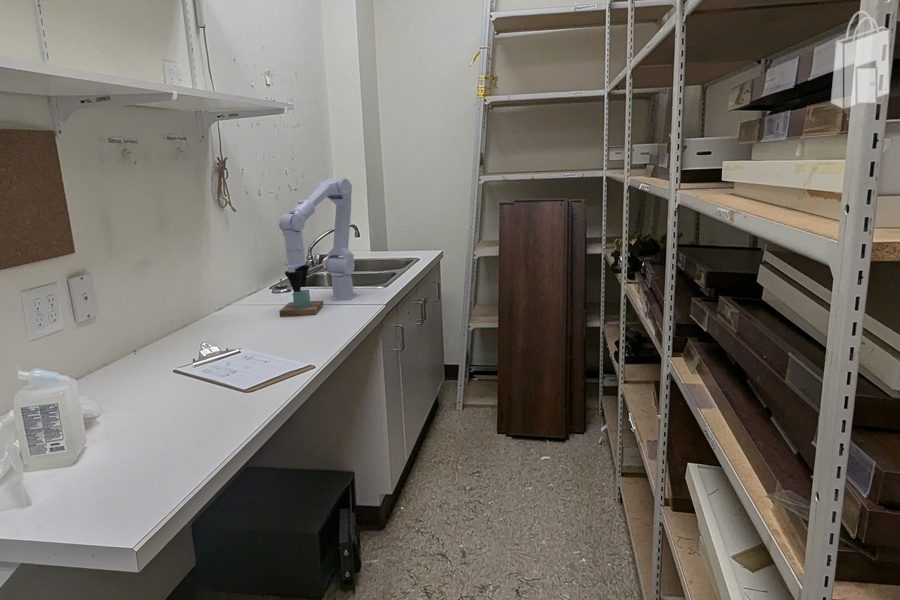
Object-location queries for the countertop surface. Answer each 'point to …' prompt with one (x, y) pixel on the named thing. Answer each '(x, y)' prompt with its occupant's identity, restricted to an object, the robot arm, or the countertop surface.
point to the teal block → (301, 298)
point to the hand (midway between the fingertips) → (299, 289)
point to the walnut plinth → (301, 309)
